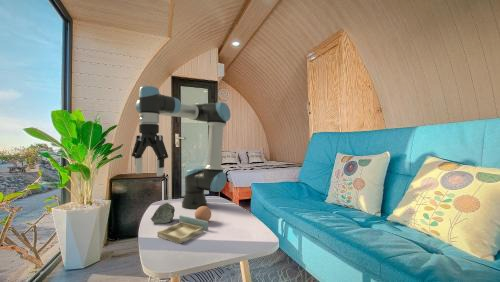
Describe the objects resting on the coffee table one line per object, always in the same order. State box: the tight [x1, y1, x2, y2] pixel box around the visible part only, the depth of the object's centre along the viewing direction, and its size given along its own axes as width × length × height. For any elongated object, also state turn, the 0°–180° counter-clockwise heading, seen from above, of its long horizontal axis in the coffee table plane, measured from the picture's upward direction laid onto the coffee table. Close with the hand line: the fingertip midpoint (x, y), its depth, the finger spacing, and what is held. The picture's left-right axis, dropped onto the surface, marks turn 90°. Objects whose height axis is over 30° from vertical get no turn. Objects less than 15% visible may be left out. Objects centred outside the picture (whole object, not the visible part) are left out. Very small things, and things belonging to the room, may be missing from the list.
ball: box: [194, 205, 212, 222], centre depth 109 cm, size 8×8×8 cm
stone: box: [150, 202, 176, 224], centre depth 110 cm, size 10×10×10 cm
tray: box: [157, 222, 204, 245], centre depth 94 cm, size 13×13×2 cm
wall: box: [178, 214, 209, 232], centre depth 102 cm, size 1×17×4 cm, turn 62°
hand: (149, 174), depth 92 cm, fingers open, 13 cm apart
